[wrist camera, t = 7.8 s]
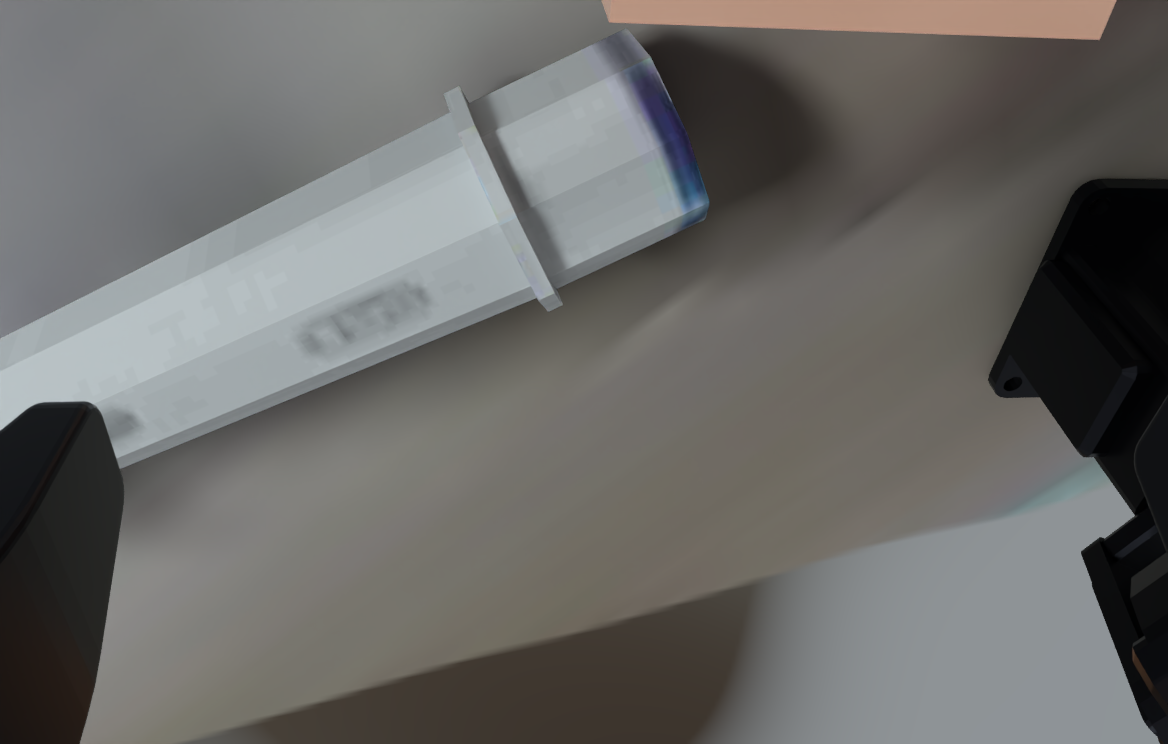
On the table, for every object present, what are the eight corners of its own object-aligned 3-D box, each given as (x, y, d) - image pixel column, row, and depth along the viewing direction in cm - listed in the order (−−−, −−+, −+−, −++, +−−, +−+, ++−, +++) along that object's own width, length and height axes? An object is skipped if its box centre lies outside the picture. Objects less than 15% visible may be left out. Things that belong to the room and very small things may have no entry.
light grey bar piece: (740, 285, 19) (-370, 799, 20) (641, 140, 24) (-242, 557, 25) (662, 45, 16) (-670, 679, 17) (566, -65, 21) (-452, 426, 22)
